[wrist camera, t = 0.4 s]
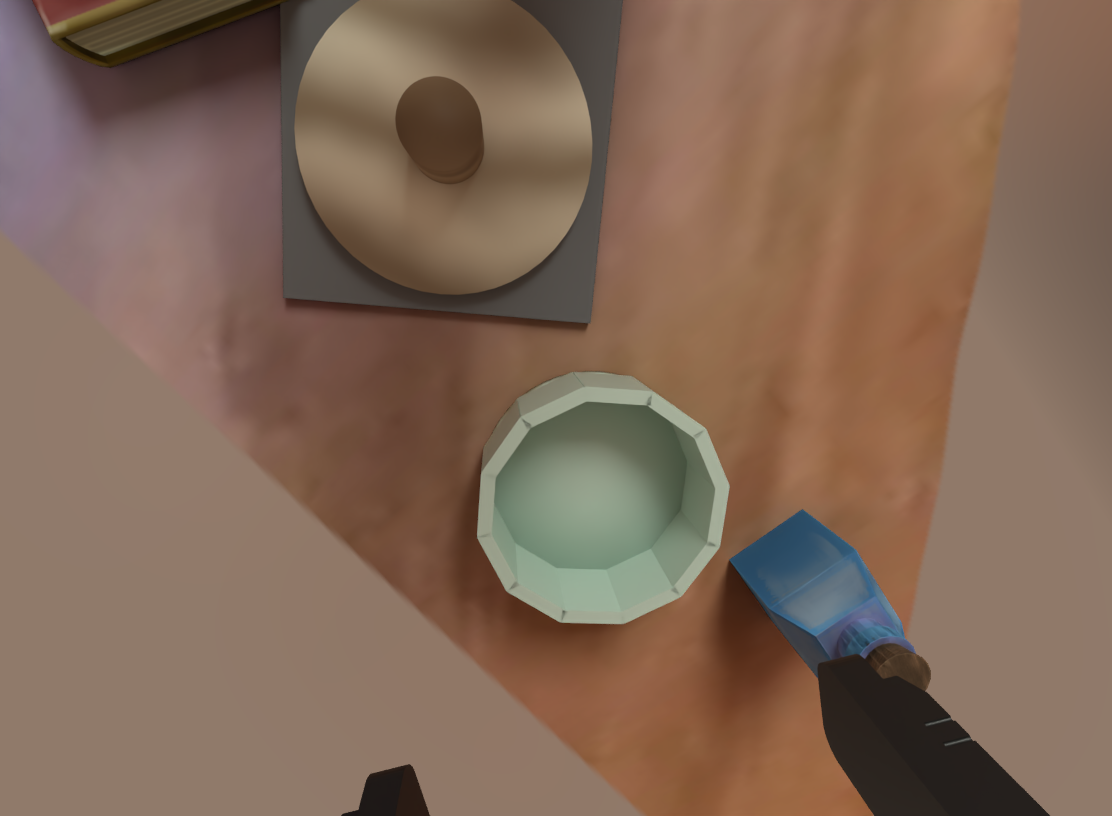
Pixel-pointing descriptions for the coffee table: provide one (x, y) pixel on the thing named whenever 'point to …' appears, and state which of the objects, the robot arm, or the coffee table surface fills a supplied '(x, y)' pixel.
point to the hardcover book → (135, 24)
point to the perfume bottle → (827, 599)
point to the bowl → (599, 499)
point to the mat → (543, 293)
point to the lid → (443, 140)
